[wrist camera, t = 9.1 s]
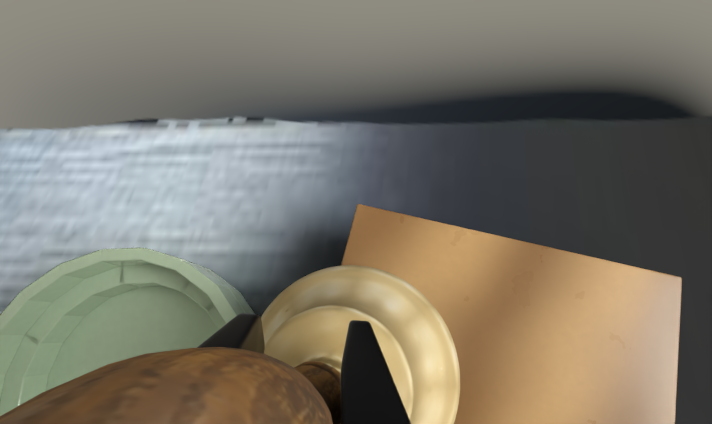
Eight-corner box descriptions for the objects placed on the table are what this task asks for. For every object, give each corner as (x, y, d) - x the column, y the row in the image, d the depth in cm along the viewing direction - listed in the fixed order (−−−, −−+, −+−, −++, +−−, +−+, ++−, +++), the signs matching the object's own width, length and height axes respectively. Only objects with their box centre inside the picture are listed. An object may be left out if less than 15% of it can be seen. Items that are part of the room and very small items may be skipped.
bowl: (324, 353, 21) (313, 357, 18) (153, 609, 18) (102, 670, 15) (140, 216, 24) (100, 197, 21) (-31, 422, 21) (-109, 438, 18)
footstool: (628, 287, 21) (682, 277, 17) (606, 558, 18) (666, 620, 14) (361, 225, 23) (357, 203, 19) (300, 461, 20) (279, 491, 16)
